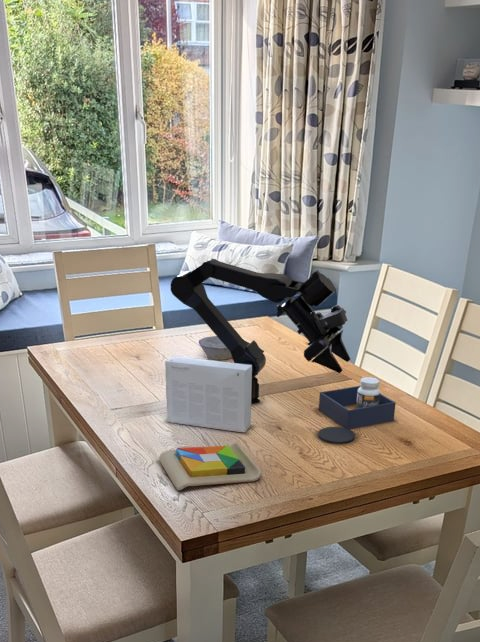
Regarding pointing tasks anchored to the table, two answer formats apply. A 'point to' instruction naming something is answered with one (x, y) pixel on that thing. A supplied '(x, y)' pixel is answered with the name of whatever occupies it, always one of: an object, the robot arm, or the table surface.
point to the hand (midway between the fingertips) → (345, 366)
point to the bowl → (214, 348)
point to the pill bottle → (368, 393)
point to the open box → (349, 419)
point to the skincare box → (209, 393)
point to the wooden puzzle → (208, 465)
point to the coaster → (336, 435)
